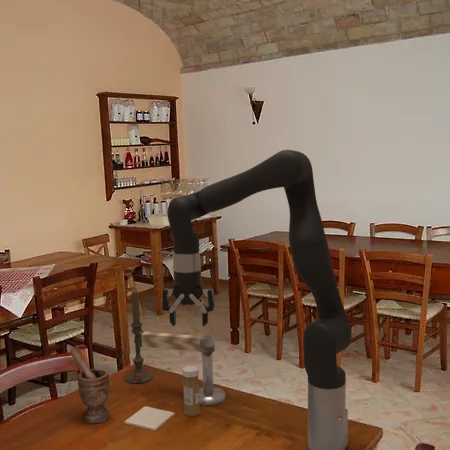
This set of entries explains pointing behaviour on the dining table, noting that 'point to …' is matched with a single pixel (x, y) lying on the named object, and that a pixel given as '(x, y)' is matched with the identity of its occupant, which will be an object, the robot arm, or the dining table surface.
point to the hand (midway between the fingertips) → (189, 325)
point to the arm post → (209, 384)
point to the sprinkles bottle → (191, 390)
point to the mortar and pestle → (92, 389)
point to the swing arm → (176, 341)
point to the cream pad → (149, 418)
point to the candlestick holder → (138, 374)
